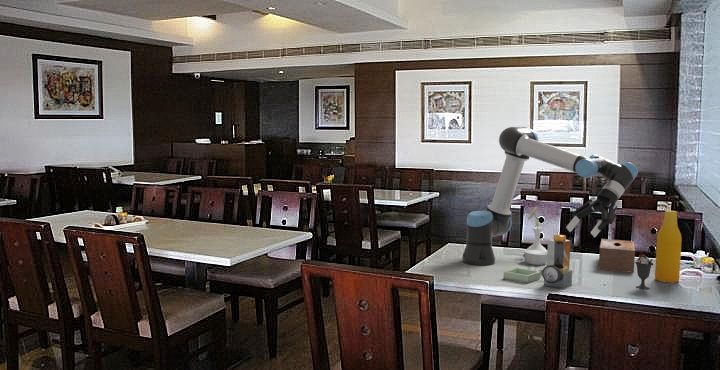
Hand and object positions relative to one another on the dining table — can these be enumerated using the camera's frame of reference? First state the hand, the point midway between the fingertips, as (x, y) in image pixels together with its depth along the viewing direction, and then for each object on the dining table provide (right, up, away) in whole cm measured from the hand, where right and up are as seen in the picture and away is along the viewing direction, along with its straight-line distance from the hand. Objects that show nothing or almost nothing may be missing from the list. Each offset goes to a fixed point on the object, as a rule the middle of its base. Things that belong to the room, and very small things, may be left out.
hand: (580, 232), depth 250 cm
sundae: (+23, -22, -4) cm, 32 cm away
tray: (-21, -20, +9) cm, 30 cm away
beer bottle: (+39, -21, +9) cm, 46 cm away
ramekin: (-6, -18, +41) cm, 45 cm away
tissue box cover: (+30, -19, +38) cm, 52 cm away
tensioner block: (-11, -21, -3) cm, 24 cm away
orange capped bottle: (-10, -15, -2) cm, 18 cm away
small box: (0, -19, +28) cm, 34 cm away
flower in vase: (-2, -16, +56) cm, 58 cm away
